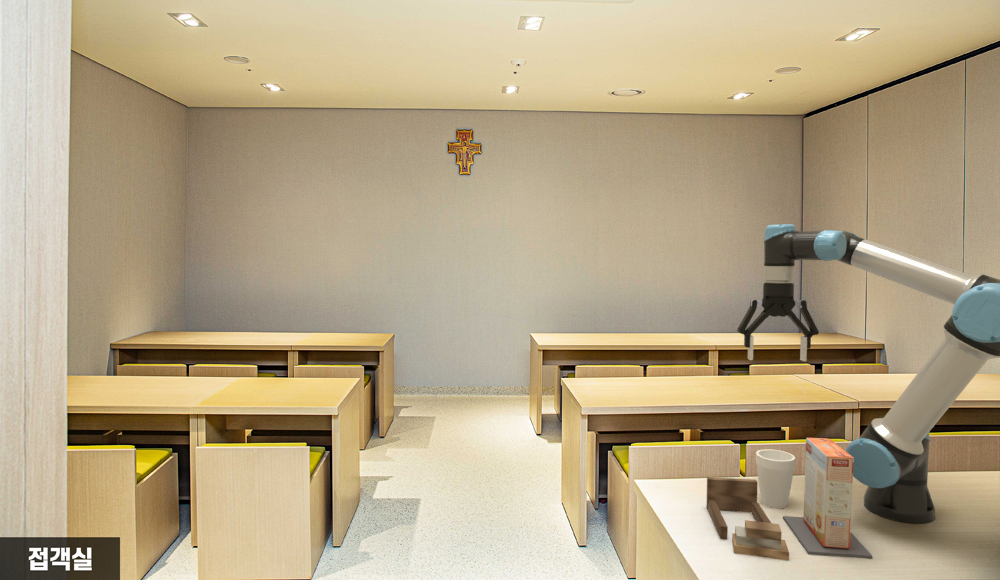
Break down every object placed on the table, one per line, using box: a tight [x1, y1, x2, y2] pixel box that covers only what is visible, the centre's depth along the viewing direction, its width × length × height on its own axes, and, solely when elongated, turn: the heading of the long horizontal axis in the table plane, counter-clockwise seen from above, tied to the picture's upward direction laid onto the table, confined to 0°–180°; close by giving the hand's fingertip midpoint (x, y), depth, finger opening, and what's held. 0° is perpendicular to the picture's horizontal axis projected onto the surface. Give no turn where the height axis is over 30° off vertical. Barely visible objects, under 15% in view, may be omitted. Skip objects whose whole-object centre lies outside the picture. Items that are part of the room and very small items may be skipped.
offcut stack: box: [731, 519, 790, 561], centre depth 134 cm, size 11×6×6 cm, turn 73°
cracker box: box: [802, 437, 854, 549], centre depth 139 cm, size 14×6×21 cm, turn 170°
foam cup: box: [755, 448, 797, 510], centre depth 158 cm, size 10×9×13 cm
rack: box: [706, 476, 772, 540], centre depth 147 cm, size 12×18×8 cm
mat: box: [782, 515, 874, 559], centre depth 140 cm, size 13×18×1 cm
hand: (776, 360), depth 164 cm, fingers open, 13 cm apart
